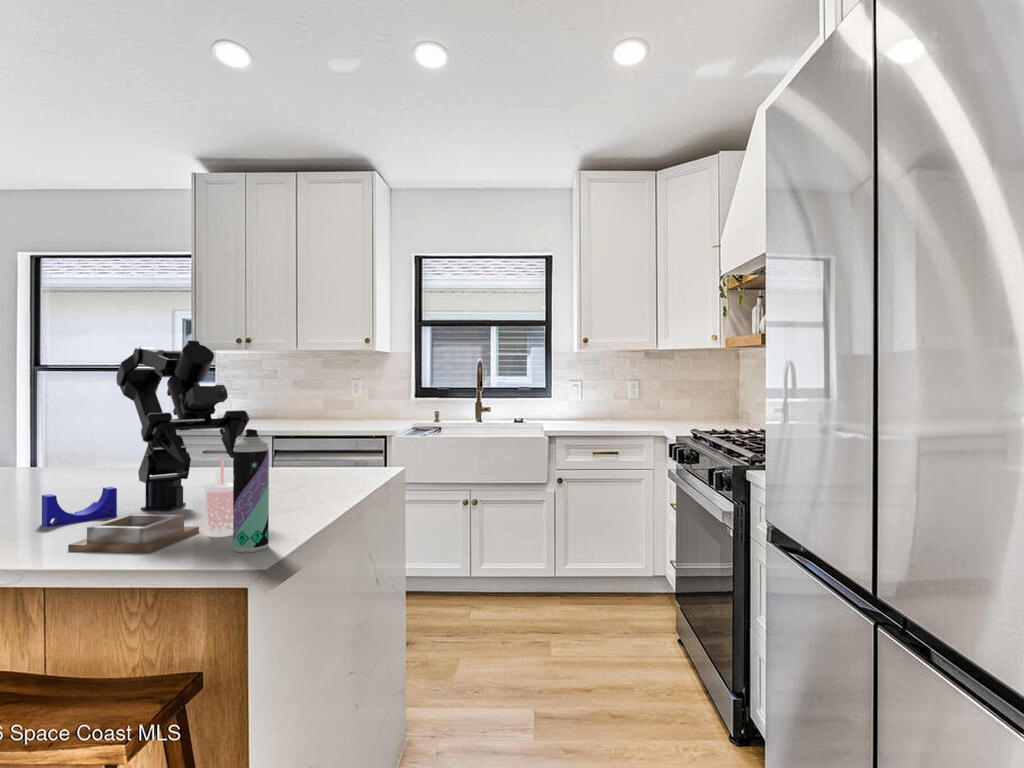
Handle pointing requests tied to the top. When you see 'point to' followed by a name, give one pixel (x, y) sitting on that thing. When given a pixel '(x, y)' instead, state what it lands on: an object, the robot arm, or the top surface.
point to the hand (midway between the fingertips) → (208, 458)
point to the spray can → (250, 493)
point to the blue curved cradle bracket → (95, 511)
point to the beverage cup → (219, 507)
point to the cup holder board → (134, 534)
